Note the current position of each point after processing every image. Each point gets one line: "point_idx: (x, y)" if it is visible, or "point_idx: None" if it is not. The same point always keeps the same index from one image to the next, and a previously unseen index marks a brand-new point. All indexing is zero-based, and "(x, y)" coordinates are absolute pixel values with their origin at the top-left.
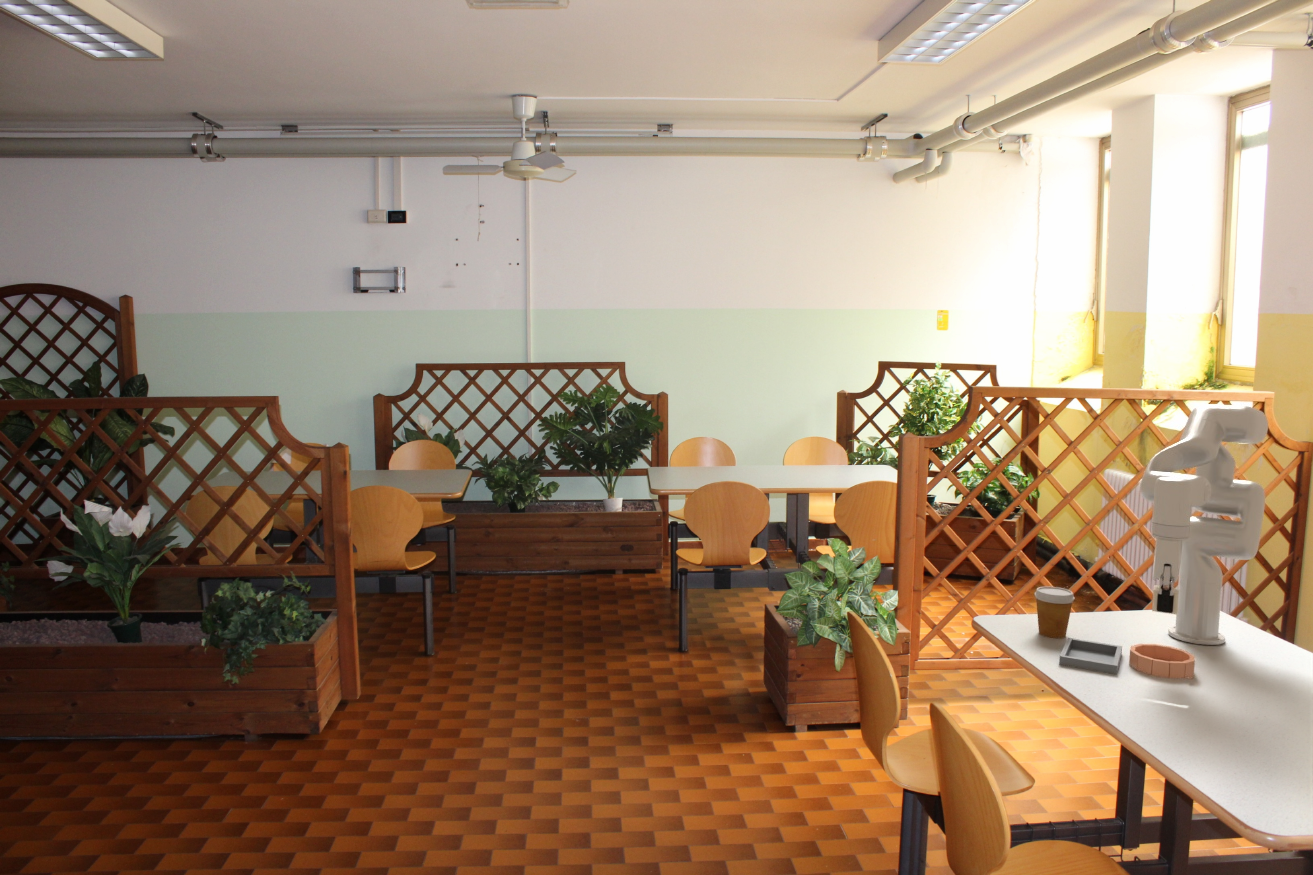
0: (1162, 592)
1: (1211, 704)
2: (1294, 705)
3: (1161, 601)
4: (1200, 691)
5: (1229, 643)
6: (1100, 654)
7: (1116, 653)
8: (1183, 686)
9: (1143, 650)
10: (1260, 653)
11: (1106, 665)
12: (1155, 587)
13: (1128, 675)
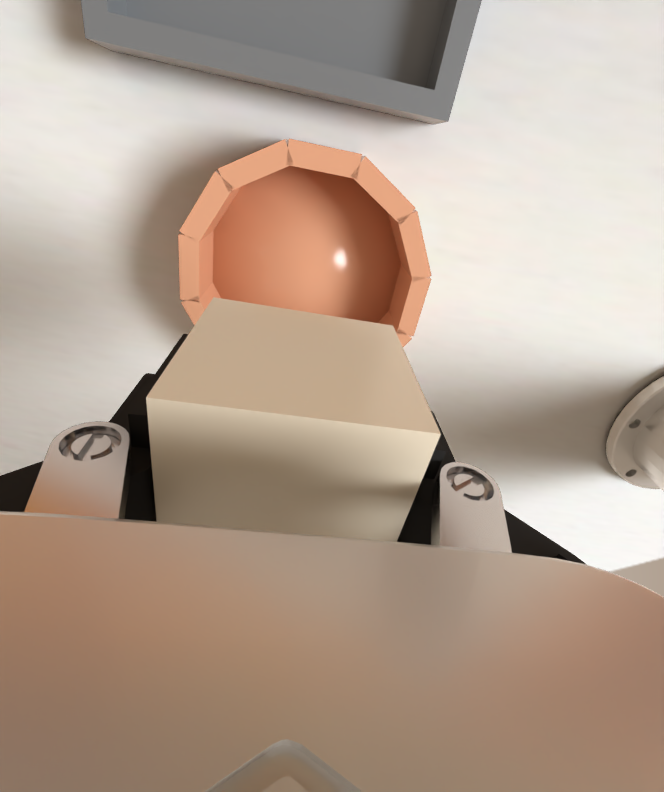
0: (26, 472)
1: (32, 366)
2: None
3: (124, 402)
4: (138, 356)
5: (627, 486)
6: None
7: (310, 67)
8: (156, 316)
9: (394, 221)
10: (546, 527)
11: None
12: (303, 431)
13: (164, 119)
